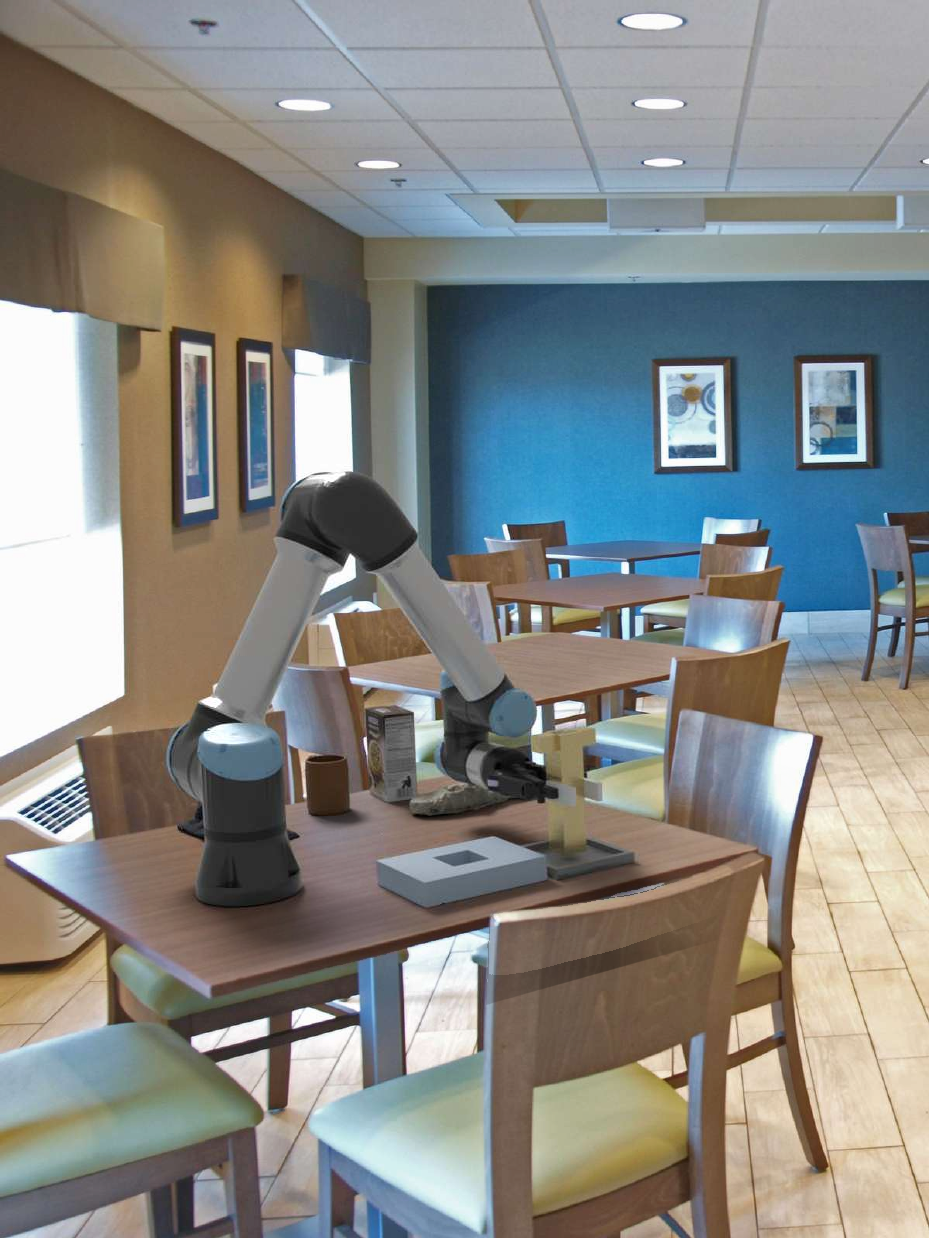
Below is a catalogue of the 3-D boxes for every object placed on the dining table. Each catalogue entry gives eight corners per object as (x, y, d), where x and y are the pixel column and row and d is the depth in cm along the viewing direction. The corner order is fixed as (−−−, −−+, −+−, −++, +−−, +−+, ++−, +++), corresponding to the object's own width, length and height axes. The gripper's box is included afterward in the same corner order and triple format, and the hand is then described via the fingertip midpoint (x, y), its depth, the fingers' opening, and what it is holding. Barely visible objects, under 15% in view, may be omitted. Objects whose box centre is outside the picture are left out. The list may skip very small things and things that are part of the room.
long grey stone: (585, 795, 253) (549, 789, 260) (584, 766, 252) (548, 762, 260) (431, 820, 231) (397, 813, 239) (430, 789, 231) (396, 783, 239)
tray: (557, 879, 196) (556, 869, 196) (503, 858, 208) (503, 849, 207) (634, 861, 203) (634, 852, 203) (578, 842, 215) (578, 833, 215)
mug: (292, 805, 248) (288, 754, 247) (330, 798, 252) (328, 748, 251) (317, 818, 238) (313, 765, 237) (357, 811, 241) (354, 759, 240)
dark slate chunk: (217, 856, 218) (215, 827, 217) (172, 829, 237) (171, 802, 236) (306, 840, 226) (304, 811, 225) (256, 814, 244) (254, 788, 244)
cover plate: (425, 907, 186) (424, 882, 185) (377, 883, 198) (376, 860, 197) (547, 879, 196) (546, 855, 196) (494, 858, 208) (493, 836, 208)
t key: (548, 859, 201) (543, 738, 199) (532, 853, 204) (527, 734, 202) (602, 847, 206) (598, 729, 204) (586, 841, 209) (582, 725, 207)
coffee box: (368, 793, 255) (363, 707, 253) (400, 788, 258) (395, 703, 256) (386, 803, 247) (381, 714, 245) (419, 798, 249) (414, 710, 248)
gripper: (544, 783, 224) (634, 810, 204) (455, 800, 215) (539, 829, 195) (543, 738, 223) (632, 760, 203) (453, 753, 215) (537, 778, 195)
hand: (587, 794), depth 200 cm, fingers closed on t key, 4 cm apart
